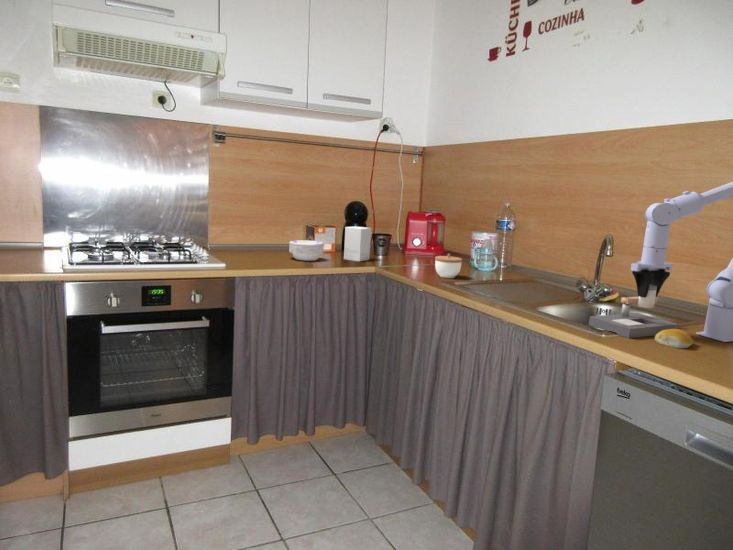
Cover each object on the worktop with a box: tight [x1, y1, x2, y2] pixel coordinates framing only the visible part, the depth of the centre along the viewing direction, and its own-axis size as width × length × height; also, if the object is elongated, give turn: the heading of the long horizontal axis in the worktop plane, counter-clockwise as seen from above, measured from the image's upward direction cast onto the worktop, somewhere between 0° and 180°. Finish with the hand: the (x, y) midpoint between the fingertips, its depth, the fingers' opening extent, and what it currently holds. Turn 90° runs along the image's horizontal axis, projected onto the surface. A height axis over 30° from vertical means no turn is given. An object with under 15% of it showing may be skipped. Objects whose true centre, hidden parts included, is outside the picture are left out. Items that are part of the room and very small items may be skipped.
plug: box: [637, 285, 657, 309], centre depth 149 cm, size 4×4×6 cm
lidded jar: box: [434, 253, 463, 279], centre depth 217 cm, size 11×11×9 cm
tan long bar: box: [620, 296, 659, 305], centre depth 156 cm, size 12×3×2 cm, turn 112°
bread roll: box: [654, 328, 694, 349], centre depth 139 cm, size 8×9×4 cm
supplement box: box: [343, 226, 372, 262], centre depth 248 cm, size 9×9×15 cm
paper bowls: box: [288, 239, 325, 262], centre depth 239 cm, size 15×15×8 cm
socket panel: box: [588, 303, 679, 339], centre depth 151 cm, size 20×13×6 cm, turn 117°
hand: (647, 296), depth 149 cm, fingers closed on plug, 4 cm apart
